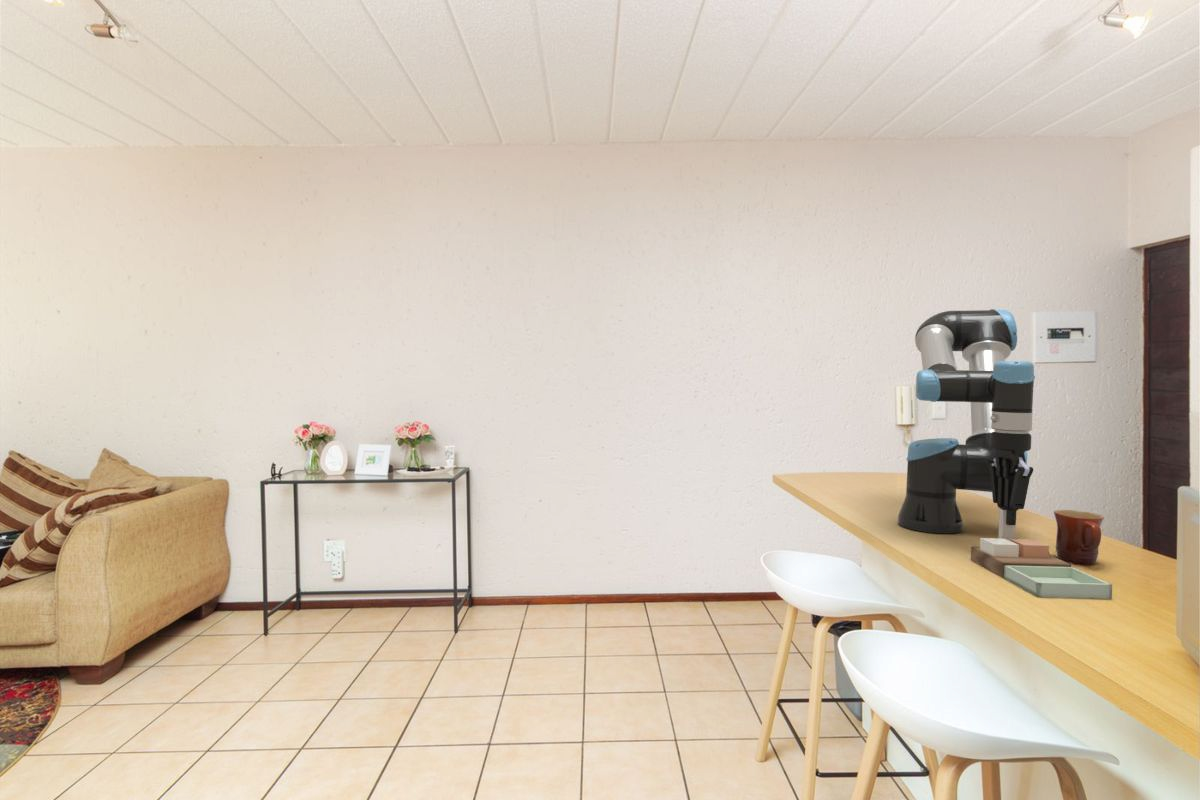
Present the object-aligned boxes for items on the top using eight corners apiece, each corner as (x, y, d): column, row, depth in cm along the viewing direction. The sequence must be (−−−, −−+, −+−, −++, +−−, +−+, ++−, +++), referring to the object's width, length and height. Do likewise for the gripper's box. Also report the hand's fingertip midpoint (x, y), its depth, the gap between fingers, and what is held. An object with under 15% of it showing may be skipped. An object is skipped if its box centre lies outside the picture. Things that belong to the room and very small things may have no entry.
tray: (1003, 578, 126) (1004, 565, 126) (1071, 580, 126) (1072, 567, 126) (1037, 596, 116) (1038, 582, 116) (1111, 599, 115) (1112, 584, 115)
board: (970, 560, 138) (971, 546, 138) (1032, 561, 138) (1033, 547, 138) (1002, 577, 127) (1003, 562, 126) (1070, 579, 126) (1071, 564, 126)
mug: (1044, 553, 144) (1046, 508, 144) (1087, 556, 142) (1090, 510, 142) (1071, 569, 132) (1074, 520, 132) (1120, 573, 131) (1122, 523, 130)
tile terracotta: (1008, 550, 136) (1009, 538, 135) (1033, 550, 135) (1033, 539, 135) (1023, 557, 131) (1023, 545, 130) (1048, 557, 130) (1049, 545, 130)
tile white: (979, 549, 136) (980, 538, 136) (1004, 550, 136) (1004, 538, 135) (993, 556, 131) (993, 544, 131) (1018, 557, 131) (1018, 545, 130)
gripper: (977, 428, 146) (973, 530, 147) (1010, 434, 133) (1006, 545, 134) (1010, 429, 146) (1006, 531, 147) (1048, 434, 133) (1043, 546, 134)
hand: (1006, 538), depth 140 cm, fingers closed
